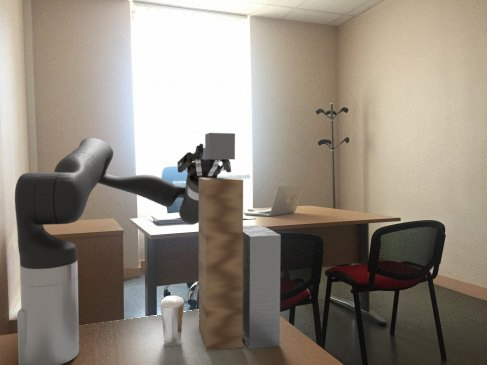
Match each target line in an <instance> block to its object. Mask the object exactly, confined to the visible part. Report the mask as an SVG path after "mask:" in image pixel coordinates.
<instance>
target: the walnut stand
mask: <svg viewBox="0 0 487 365" xmlns="http://www.w3.org/2000/svg"><path fill="white" fill-rule="evenodd" d="M243 226H244V179H241V178H237V177H217V178H199V222H198V330H199V334H200V337H201V339H202V343H203V346H204V349H205V351H216V350H223V349H232V348H240V347H241V348H242V347H243V337H242V319H243Z"/></svg>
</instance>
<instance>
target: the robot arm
mask: <svg viewBox="0 0 487 365" xmlns="http://www.w3.org/2000/svg"><path fill="white" fill-rule="evenodd" d="M203 148H204V143H199V145H196V146H195V150H194V152H193V153H192V152H189V151H188V152H187V153H185V154H184V155H183V156H182V157H181V158H180V159H179V160H178V161H177V163H176V164H177V173H179V174H180V173H183V172H184V171H185V172H187V175H186V179H185V185H184V186H183V185H178V184H174V183H172V182H170V181H167V180H165V179H164V178H161V177H159V176H157V175H151V174H140V175H139V174H138V175H137V174H136V175H129V176H119V175H113V174H110V173H107V170H108V168H109V166H110V164H111V162H112V160H113V157H114V151H113V148H112V147H111V145H110V144H108V143H107V142H106V141H104V140H102V139H99V138H96V137H95V138H94V137H87V138H84V139H82V140H81V141H80V143H79V144H78V147H77V148H75V149H74V150H73V151H72V152H70V153H69V154H67V155H66V156H64V157H63V158H62V159H60V160H59V161H58V163H57V164H56V166H55V168H54V172H26V173H23V174H21V175H20V176H19V177H18V179H17V181H16V184H15V189H14V208H15V218H16V220H15V221H16V230H17V246H18V247H17V248H18V254H19V274H20V275H19V276H20V280H19V282H20V308H19V310H18V311H17V315H16V319H17V348H18V349H17V352H18V356H17V357H18V365H64V364H66V363H68V362H70V361H72V360H73V359H75V358H76V357H77V356H78V354H79V352H80V337H79V336H80V335H79V333H80V329H79V328H80V327H79V326H80V325H79V276H78V275H79V271H78V270H79V269H78V248H77V246H76V244H74V243H73V242H72V241H68V240H65V239H61V238H59V237H56V236H54V235H53V234H51V233H50V232H48V231H47V230H46V229H45V228H44V225H46V226H47V225H68V224H69V225H70V224H73V223H77V221H78V220H79V219H80V218H81V217H82V215H83V214H84V212H85V209H86V205H87V202H88V200H89V197H90V194H91V193H92V191H93V190H94V189H95V187H96V186H97V184H100V185H102V186H106V187H109V188H113V189H116V190H120V191H123V192H127V193H131V194H133V195H136V196H139V197H142V198H145V199H147V200H149V201H151V202H154V203H156V204H159V205H161V206H163V207H165V208H170V207H172V206H173V205H174V203H175V202H176V200H177V199H182V202H181V205H180V208H179V211H178V214H179V218H180V219H181V220H182V221H183V222H184V223H185V224H189V225H195V224H199V178H218V177H219V176H218V175H219V174H221V172H224V171H225V172H226V173H231V172H232V165H231V161H230V159H201V158H202V155H203ZM220 163H222V164H221V165H220Z"/></svg>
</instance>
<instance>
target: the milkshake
mask: <svg viewBox="0 0 487 365" xmlns="http://www.w3.org/2000/svg"><path fill="white" fill-rule="evenodd" d="M187 297H188V293H186V295H185V298H184V299H183V298H182V297H181V296H178V295H167V296H165V297H163V298H162V299H161V301H160V312H161V323H162V334H163V335H162V336H163V344H164V346H166V347H171V348H172V347H173V348H174V347H177V346H179V345H180V344H181V343H182V342H181V341H182V326H183V317H184V308H185V301H186V298H187Z"/></svg>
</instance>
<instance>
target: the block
mask: <svg viewBox="0 0 487 365" xmlns="http://www.w3.org/2000/svg"><path fill="white" fill-rule="evenodd" d="M204 137H205V138H204V142H205V143H204V147H203V155H202V158H201V159H229V160H235V159H236V133H233V132H228V133H227V132H208V133H205V135H204Z"/></svg>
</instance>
